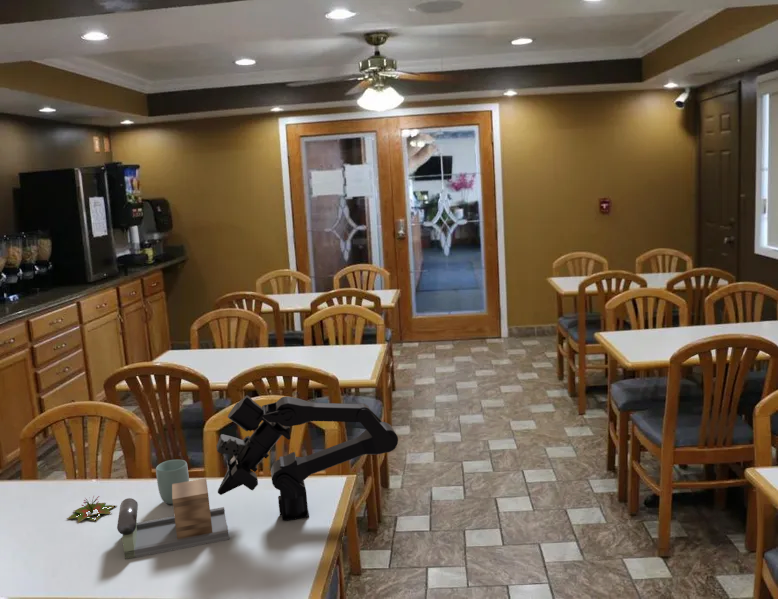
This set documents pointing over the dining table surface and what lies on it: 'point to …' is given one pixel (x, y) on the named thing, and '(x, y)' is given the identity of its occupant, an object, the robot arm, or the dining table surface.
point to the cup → (170, 477)
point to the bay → (162, 532)
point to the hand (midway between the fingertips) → (219, 493)
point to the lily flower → (91, 510)
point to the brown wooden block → (191, 508)
